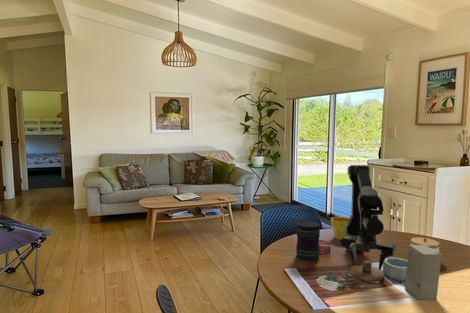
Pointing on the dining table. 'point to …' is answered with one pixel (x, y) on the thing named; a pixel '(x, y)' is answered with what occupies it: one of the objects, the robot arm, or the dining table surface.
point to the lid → (367, 272)
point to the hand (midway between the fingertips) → (366, 266)
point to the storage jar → (308, 240)
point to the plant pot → (339, 226)
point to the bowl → (395, 268)
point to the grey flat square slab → (365, 280)
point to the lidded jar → (426, 243)
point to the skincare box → (423, 272)
